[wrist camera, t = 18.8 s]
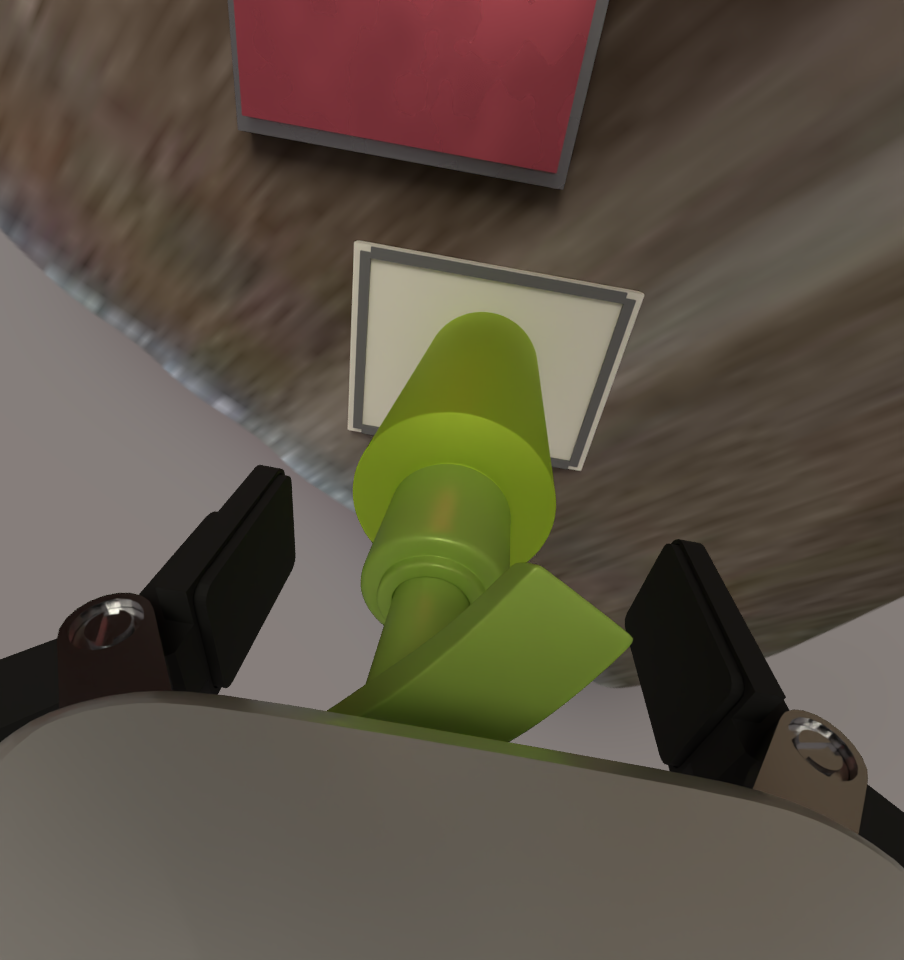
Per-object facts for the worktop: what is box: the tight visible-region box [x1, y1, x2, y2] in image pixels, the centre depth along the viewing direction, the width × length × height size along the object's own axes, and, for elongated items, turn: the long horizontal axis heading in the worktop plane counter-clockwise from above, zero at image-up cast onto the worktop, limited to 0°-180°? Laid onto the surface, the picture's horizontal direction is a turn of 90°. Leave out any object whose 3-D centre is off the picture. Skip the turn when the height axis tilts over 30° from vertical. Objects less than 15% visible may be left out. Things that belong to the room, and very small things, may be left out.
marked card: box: [348, 240, 645, 471], centre depth 25 cm, size 10×14×1 cm
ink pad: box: [228, 0, 609, 190], centre depth 17 cm, size 9×14×2 cm, turn 81°
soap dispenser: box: [327, 312, 633, 742], centre depth 16 cm, size 6×7×20 cm
